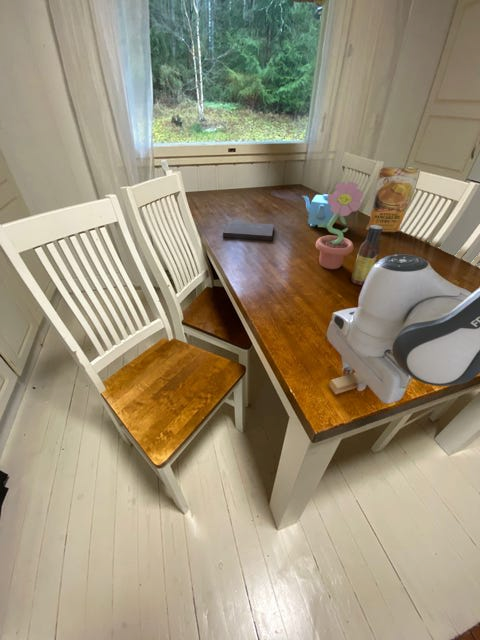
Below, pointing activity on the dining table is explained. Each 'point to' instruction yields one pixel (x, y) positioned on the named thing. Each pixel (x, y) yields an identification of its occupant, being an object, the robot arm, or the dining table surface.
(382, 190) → the pancake mix bag
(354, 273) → the sauce bottle
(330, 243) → the decorative flower
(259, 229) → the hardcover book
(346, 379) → the beige rectangular block
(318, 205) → the teakettle
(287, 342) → the dining table surface
